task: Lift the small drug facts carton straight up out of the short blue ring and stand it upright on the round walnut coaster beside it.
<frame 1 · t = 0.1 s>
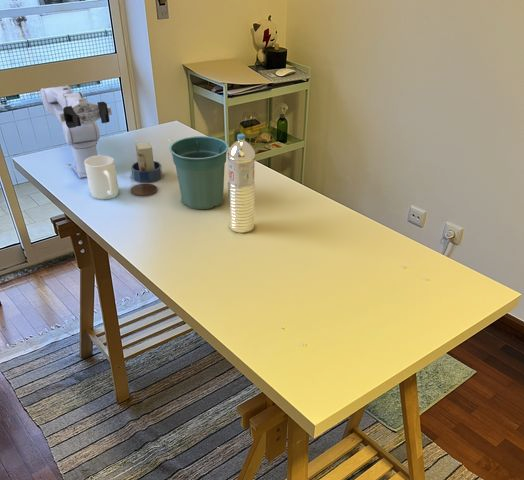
hand: (93, 120, 148), 22 cm above the table, tool horizontal, fingers open, 7 cm apart
drug facts carton: (147, 177, 172), resting in blue ring
walnut coaster: (144, 190, 164), on the table
flower pot: (202, 201, 160), on the table
water bottle: (242, 228, 148), on the table
blue ring: (147, 176, 172), on the table
cup: (107, 196, 161), on the table
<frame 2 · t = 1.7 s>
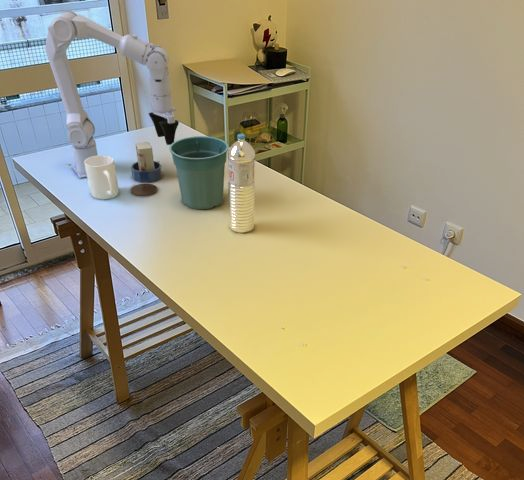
hand: (165, 140, 168), 10 cm above the table, tool pointing down, fingers open, 7 cm apart
nothing on the table moved.
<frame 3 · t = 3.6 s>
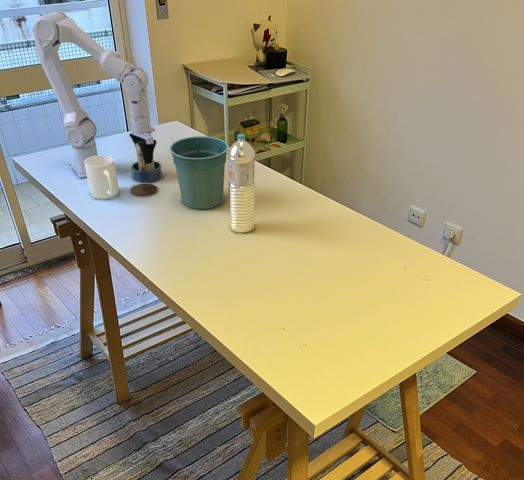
hand: (145, 159, 169), 5 cm above the table, tool pointing down, fingers closed on drug facts carton, 5 cm apart
drug facts carton: (147, 177, 172), resting in blue ring, touching gripper
everything else where it was.
when the fingers open (6 cm above the table, at t = 8.3 s): drug facts carton stays where it is, resting on walnut coaster.
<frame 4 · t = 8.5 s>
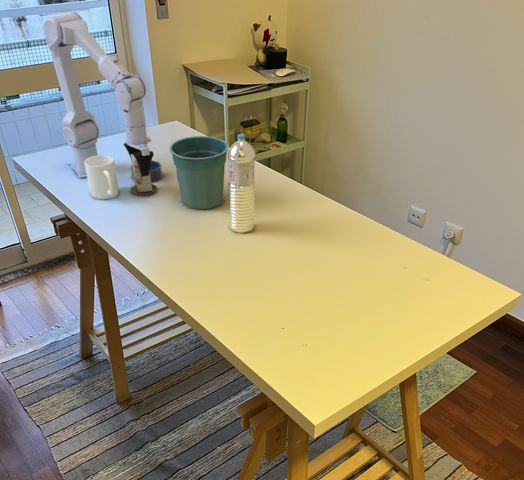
hand: (141, 171, 160), 6 cm above the table, tool pointing down, fingers open, 6 cm apart
drug facts carton: (143, 189, 164), resting on walnut coaster
everything else where it was.
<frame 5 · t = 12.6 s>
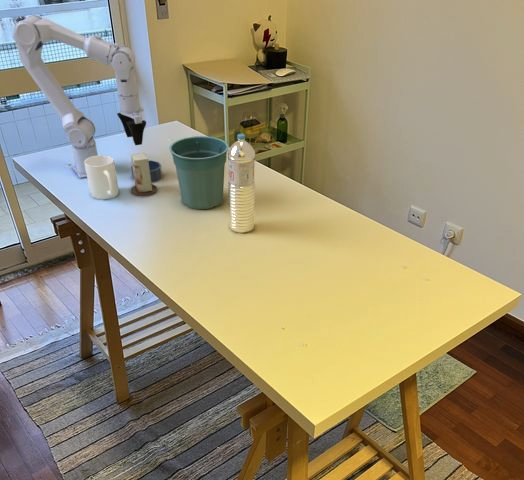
hand: (134, 140, 168), 10 cm above the table, tool pointing down, fingers open, 7 cm apart
nothing on the table moved.
at the end: drug facts carton 0.0 cm off-centre on the walnut coaster, point 0.4 cm above the walnut coaster's base; drug facts carton tilted 0°; the gripper is holding nothing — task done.
